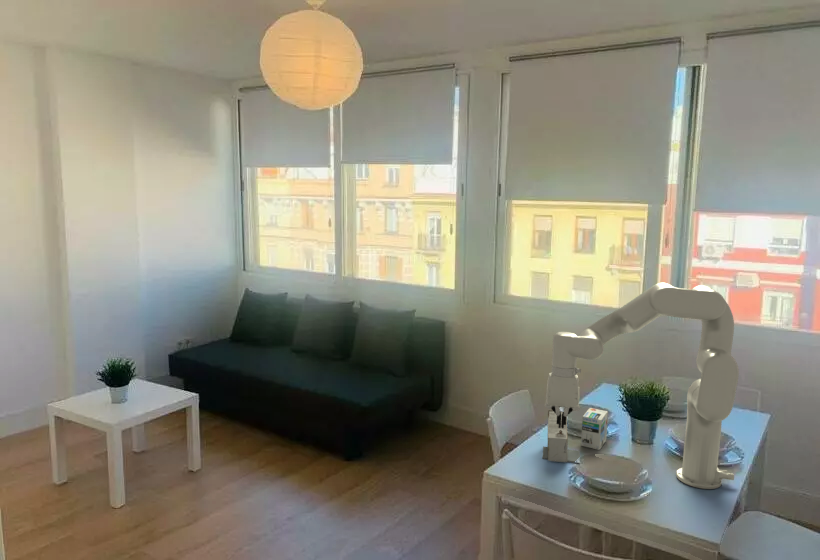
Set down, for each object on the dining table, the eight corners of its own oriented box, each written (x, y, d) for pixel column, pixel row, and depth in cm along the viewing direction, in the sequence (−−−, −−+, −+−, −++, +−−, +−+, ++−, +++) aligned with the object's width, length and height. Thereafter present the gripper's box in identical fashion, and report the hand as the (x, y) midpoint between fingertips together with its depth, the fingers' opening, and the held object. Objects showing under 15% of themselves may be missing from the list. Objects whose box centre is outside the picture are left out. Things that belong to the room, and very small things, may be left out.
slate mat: (579, 452, 204) (579, 450, 204) (580, 463, 196) (580, 462, 196) (543, 448, 207) (543, 446, 207) (542, 459, 199) (542, 457, 199)
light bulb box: (599, 450, 207) (602, 420, 205) (580, 446, 210) (582, 416, 208) (606, 439, 216) (608, 410, 214) (587, 435, 219) (589, 407, 218)
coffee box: (547, 461, 197) (547, 432, 211) (567, 462, 195) (566, 434, 210) (547, 437, 194) (547, 409, 208) (568, 438, 192) (567, 411, 207)
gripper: (587, 369, 194) (584, 424, 196) (540, 366, 197) (537, 420, 200) (588, 376, 187) (585, 433, 189) (539, 372, 190) (536, 428, 193)
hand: (561, 426), depth 195 cm, fingers closed
